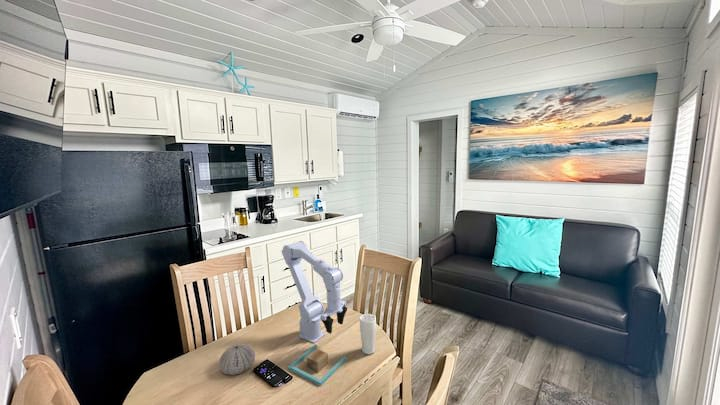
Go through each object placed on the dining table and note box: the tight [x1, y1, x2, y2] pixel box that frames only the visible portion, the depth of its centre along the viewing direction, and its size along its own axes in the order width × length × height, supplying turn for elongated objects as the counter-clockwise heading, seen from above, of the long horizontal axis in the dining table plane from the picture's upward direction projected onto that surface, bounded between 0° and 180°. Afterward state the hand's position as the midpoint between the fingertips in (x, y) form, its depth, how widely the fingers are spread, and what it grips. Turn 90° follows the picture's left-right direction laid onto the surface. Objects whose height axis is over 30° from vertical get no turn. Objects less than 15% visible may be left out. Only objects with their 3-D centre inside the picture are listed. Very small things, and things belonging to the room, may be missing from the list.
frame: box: [287, 343, 347, 387], centre depth 116 cm, size 16×16×1 cm
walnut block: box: [305, 348, 329, 373], centre depth 115 cm, size 6×6×4 cm
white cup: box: [359, 313, 377, 355], centre depth 122 cm, size 7×7×15 cm
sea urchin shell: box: [218, 343, 256, 376], centre depth 116 cm, size 13×14×8 cm
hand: (334, 327), depth 124 cm, fingers open, 7 cm apart
